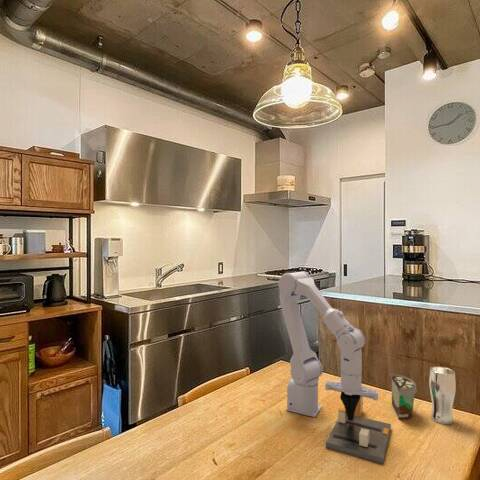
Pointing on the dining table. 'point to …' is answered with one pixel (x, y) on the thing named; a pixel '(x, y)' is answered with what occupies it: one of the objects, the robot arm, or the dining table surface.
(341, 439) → the panel
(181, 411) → the dining table surface
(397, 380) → the food container
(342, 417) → the block
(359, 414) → the block
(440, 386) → the beer glass
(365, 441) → the block
